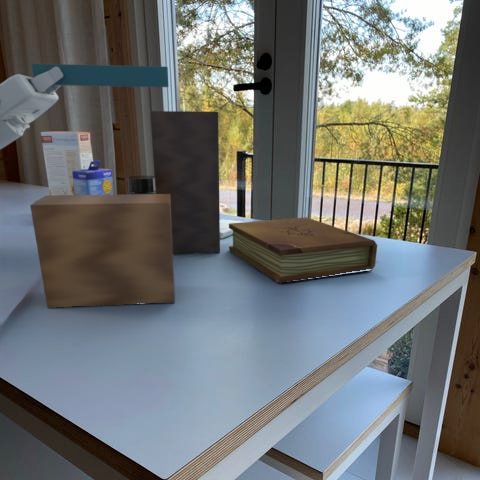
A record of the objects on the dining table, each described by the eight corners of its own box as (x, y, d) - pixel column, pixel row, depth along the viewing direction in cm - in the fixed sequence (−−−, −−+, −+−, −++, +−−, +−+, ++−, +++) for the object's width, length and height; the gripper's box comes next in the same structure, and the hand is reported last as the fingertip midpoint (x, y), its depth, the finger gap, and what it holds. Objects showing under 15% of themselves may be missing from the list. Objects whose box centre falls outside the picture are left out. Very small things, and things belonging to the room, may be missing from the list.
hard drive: (248, 229, 116) (223, 239, 106) (220, 225, 119) (192, 235, 109) (249, 222, 115) (222, 232, 105) (220, 219, 119) (192, 228, 109)
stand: (159, 254, 94) (150, 111, 83) (160, 244, 101) (152, 111, 91) (220, 253, 95) (218, 111, 85) (216, 243, 102) (214, 112, 92)
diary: (374, 272, 84) (378, 240, 81) (279, 284, 77) (281, 250, 75) (308, 242, 103) (310, 216, 101) (228, 250, 97) (228, 222, 94)
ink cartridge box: (92, 220, 124) (85, 162, 118) (76, 218, 126) (68, 161, 120) (116, 214, 132) (111, 159, 126) (101, 212, 134) (95, 158, 128)
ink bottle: (146, 234, 110) (143, 180, 105) (118, 229, 114) (113, 178, 109) (172, 226, 118) (170, 176, 113) (145, 222, 122) (141, 174, 117)
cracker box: (98, 203, 148) (90, 131, 139) (85, 206, 142) (76, 132, 134) (64, 200, 153) (54, 130, 145) (50, 203, 148) (39, 131, 139)
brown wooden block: (47, 308, 67) (29, 204, 61) (59, 289, 74) (45, 195, 69) (174, 303, 69) (169, 202, 64) (174, 285, 77) (170, 193, 71)
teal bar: (34, 84, 78) (31, 63, 77) (38, 85, 81) (35, 65, 80) (168, 86, 81) (167, 66, 80) (168, 87, 84) (167, 68, 83)
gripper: (-42, 96, 70) (35, 45, 69) (3, 100, 89) (64, 59, 87) (-12, 136, 73) (63, 87, 71) (25, 131, 91) (85, 92, 90)
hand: (64, 72), depth 79 cm, fingers closed on teal bar, 3 cm apart
